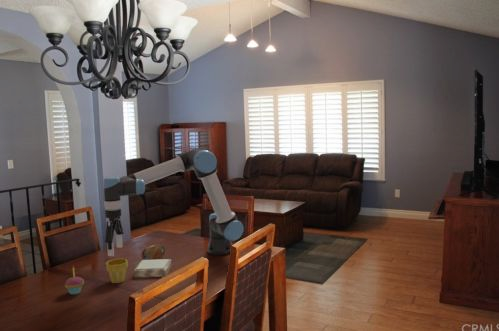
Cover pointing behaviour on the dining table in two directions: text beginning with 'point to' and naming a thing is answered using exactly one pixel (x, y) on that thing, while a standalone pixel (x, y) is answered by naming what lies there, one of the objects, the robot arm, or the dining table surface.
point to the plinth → (153, 268)
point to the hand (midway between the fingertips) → (115, 251)
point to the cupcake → (74, 284)
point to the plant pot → (117, 270)
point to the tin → (153, 252)
